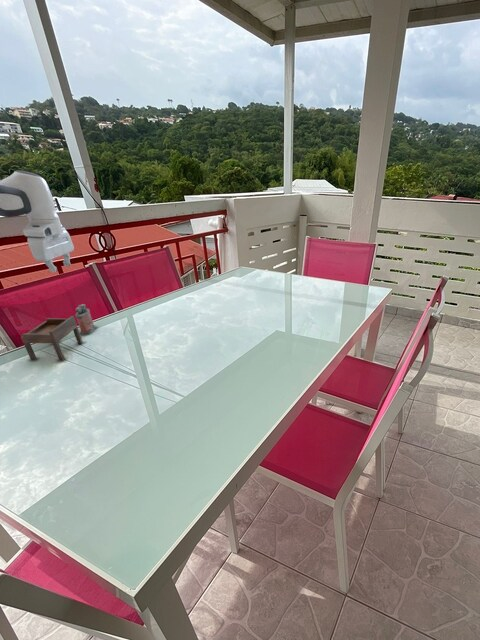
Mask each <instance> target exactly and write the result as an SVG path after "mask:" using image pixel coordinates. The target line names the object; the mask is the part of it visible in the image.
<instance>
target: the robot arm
mask: <svg viewBox="0 0 480 640" xmlns="http://www.w3.org/2000/svg"><path fill="white" fill-rule="evenodd" d="M55 205H56V204H55V200H54V198H53V195H52V191H51V190H50V187H49V185H48V183H47V181H46V180H45V179H44V178H43V177H42V176H41V175H40V174H37V173H34V172H31V171H25V170H14V172H13V173H12V174H10V175H9V176H7V177H5V178H3V179H0V216H1V217H4V218H10V219H14V218H18V217H21V216H27V219H28V221H29V222H28V223H27V225H26V226H25V227H24V228H23V229H22V233H23V234H24V237H27V244H28V247H29V249H30V253H31V254H32V257H33V258H34V260H35V261H37V262H44V264H45V265H46V267H47V268H48V270H49V272H50V273H51V274H52V273H53V274H55V273H57V272H58V268H57V266H55V265H54V259H57V258H60V257H63V261H62V263H63V266H64V267H70V266H72V264H71V262H70V261H71V254H70V253H72V252H74V251H75V245H74V243H73V240H72V238H71V235H70V233H69V232H68V231H67V229H66V227H64V225H63V224H62V223H61V219H60V217H59V215H58V212H57V210H56V207H55Z"/></svg>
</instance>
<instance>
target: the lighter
mask: <svg viewBox="0 0 480 640" xmlns="http://www.w3.org/2000/svg"><path fill="white" fill-rule="evenodd" d="M75 312H76V313H75V315H74V318H75V319H76V320H77V325H78V326H79V329H80V335H82V336H87V335H89V334H91V333H92V332H93V331H95V329H96V325H95V324H94V321H93V318H92V314H91V310H90V308H87V307H86V304H85V303H84V304H83V303H82V304H78V306H77V307H75Z"/></svg>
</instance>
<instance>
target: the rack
mask: <svg viewBox="0 0 480 640" xmlns="http://www.w3.org/2000/svg"><path fill="white" fill-rule="evenodd" d="M71 332H73V334H74V335H75V339H76V342H77V344H78V345H83V344H84V341H83V338H82V336H81V332H80V330H79V328H78V323H77V322H76V317H75V315H71V316H69V317H67V318H61V317H59V318H57V317H55V318H54V317H53V318H52V317H47V318H45V320H44V321H43V322H42V323H39V325H37V326H35V327H34V328H33V329H31V330H30V331H28V332H26V333H22V334H21V336H20V339H21V341H22V344H23V346H24V348H25V350H26V352H27V354H28V357H29V359H30V360H31V361H36V360H37V359H38V358H37V356H36V353H35V351H34V348H33V347H32V344H52V346H53V349H54V351H55V353H56V356H57V359H58V361H59V362H63V361H64V360H65V356H64V353H63V351H62V348H61V346H60V343H59V342H60V341H61V340H63V339H64V338H65V337H67V336H68V335H69V334H70V333H71Z"/></svg>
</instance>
